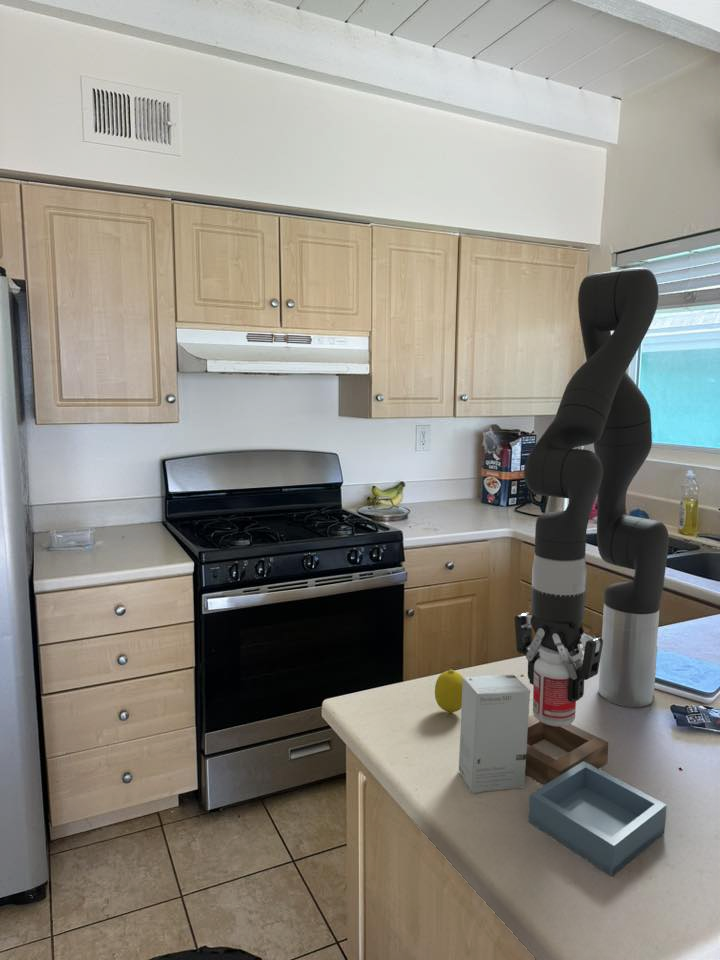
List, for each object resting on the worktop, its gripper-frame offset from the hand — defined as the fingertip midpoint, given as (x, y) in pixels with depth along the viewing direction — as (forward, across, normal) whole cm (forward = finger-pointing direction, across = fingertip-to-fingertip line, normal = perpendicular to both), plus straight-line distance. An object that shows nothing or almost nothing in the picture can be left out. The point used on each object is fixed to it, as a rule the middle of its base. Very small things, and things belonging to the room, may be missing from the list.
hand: (554, 691), depth 98 cm
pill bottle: (+4, 0, 0) cm, 4 cm away
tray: (+11, -13, +8) cm, 19 cm away
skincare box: (+11, +2, +11) cm, 16 cm away
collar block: (+11, 0, 0) cm, 11 cm away
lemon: (+11, +19, +2) cm, 22 cm away
